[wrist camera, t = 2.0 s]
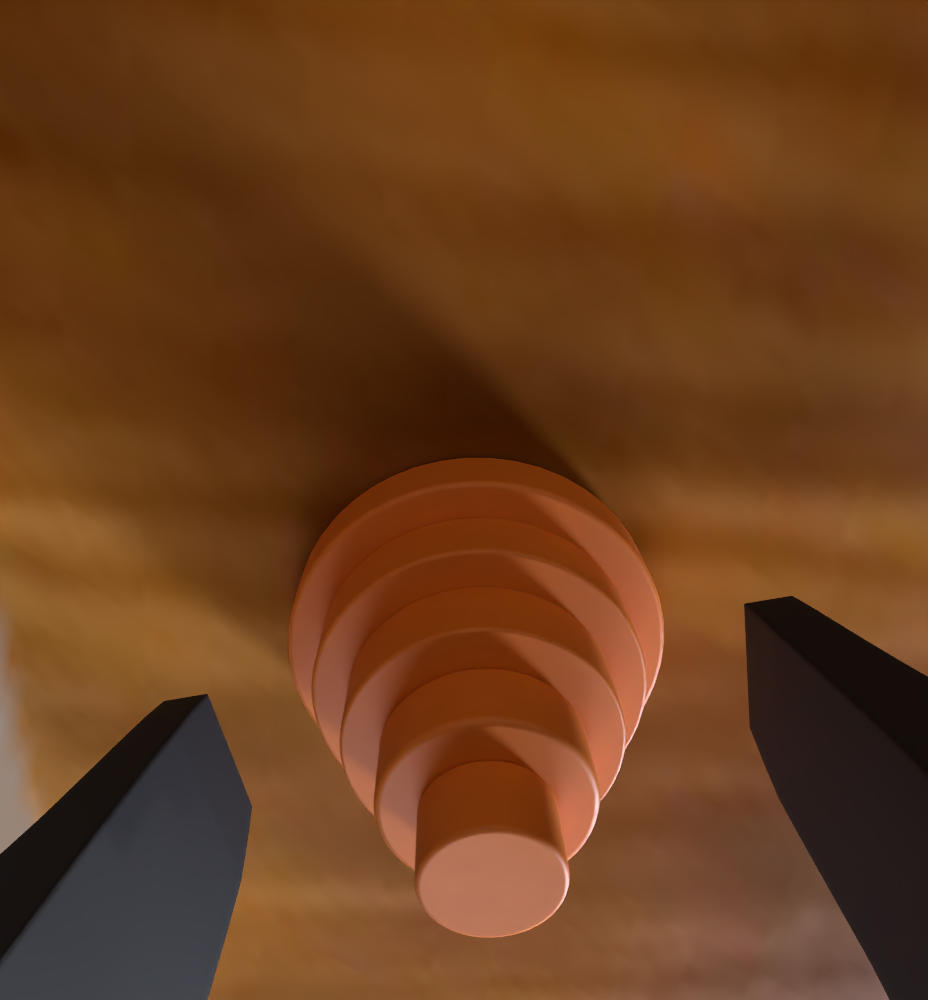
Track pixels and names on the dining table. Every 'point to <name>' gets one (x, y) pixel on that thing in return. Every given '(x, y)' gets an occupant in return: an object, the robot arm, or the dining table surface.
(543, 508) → the cone
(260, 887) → the dining table surface
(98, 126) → the dining table surface
